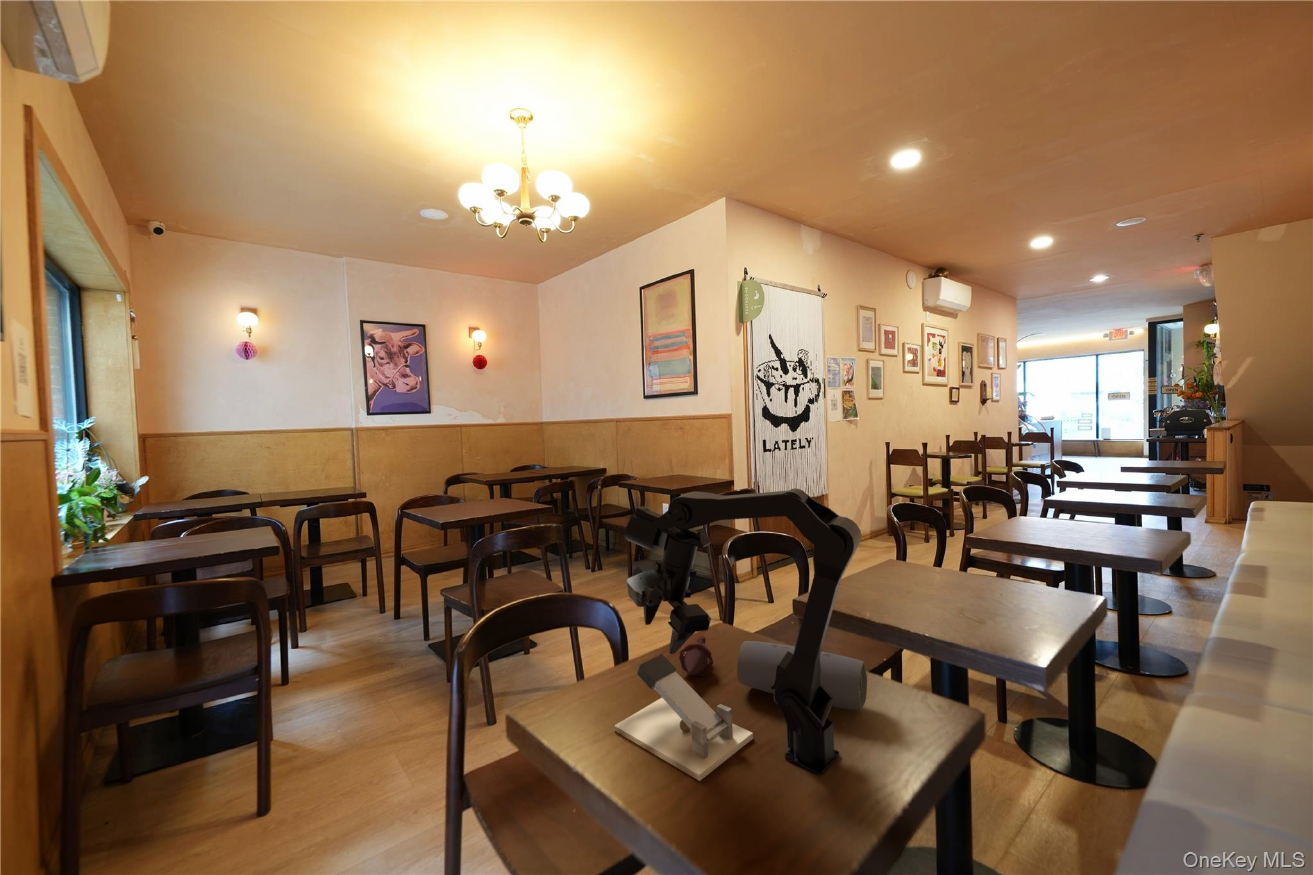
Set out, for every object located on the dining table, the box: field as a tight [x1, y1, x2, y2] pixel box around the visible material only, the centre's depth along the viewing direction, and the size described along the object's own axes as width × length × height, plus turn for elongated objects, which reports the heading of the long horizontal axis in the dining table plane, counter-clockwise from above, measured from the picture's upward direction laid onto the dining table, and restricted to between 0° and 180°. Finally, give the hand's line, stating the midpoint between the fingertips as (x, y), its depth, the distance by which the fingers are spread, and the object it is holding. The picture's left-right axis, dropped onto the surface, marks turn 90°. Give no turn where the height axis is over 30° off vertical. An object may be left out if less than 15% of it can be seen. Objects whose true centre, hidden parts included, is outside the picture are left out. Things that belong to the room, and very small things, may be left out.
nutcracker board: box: [613, 697, 754, 782], centre depth 95 cm, size 20×14×6 cm
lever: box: [636, 653, 727, 744], centre depth 95 cm, size 17×6×2 cm, turn 46°
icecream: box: [678, 635, 714, 677], centre depth 117 cm, size 7×7×15 cm
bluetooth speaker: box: [736, 640, 868, 711], centre depth 104 cm, size 23×9×10 cm, turn 60°
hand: (659, 638), depth 100 cm, fingers open, 9 cm apart
